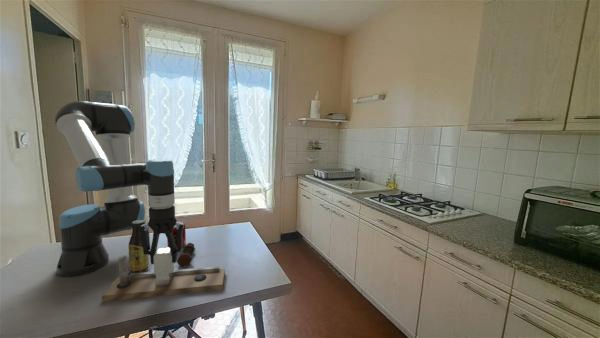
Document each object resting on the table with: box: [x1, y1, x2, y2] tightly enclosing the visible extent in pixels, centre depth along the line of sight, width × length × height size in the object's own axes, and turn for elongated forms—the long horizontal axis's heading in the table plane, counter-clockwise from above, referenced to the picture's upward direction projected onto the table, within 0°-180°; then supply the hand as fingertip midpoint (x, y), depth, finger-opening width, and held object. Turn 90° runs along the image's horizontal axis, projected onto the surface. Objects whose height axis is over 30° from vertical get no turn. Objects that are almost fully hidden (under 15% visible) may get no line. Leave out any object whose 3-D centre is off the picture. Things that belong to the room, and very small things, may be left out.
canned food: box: [166, 220, 187, 248], centre depth 112 cm, size 8×8×11 cm
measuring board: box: [101, 254, 226, 302], centre depth 83 cm, size 36×10×12 cm, turn 103°
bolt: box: [176, 242, 196, 268], centre depth 103 cm, size 6×5×15 cm
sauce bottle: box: [128, 219, 150, 274], centre depth 91 cm, size 6×6×20 cm
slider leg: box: [155, 247, 174, 286], centre depth 82 cm, size 4×6×11 cm, turn 13°
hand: (164, 271), depth 82 cm, fingers closed on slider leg, 4 cm apart
